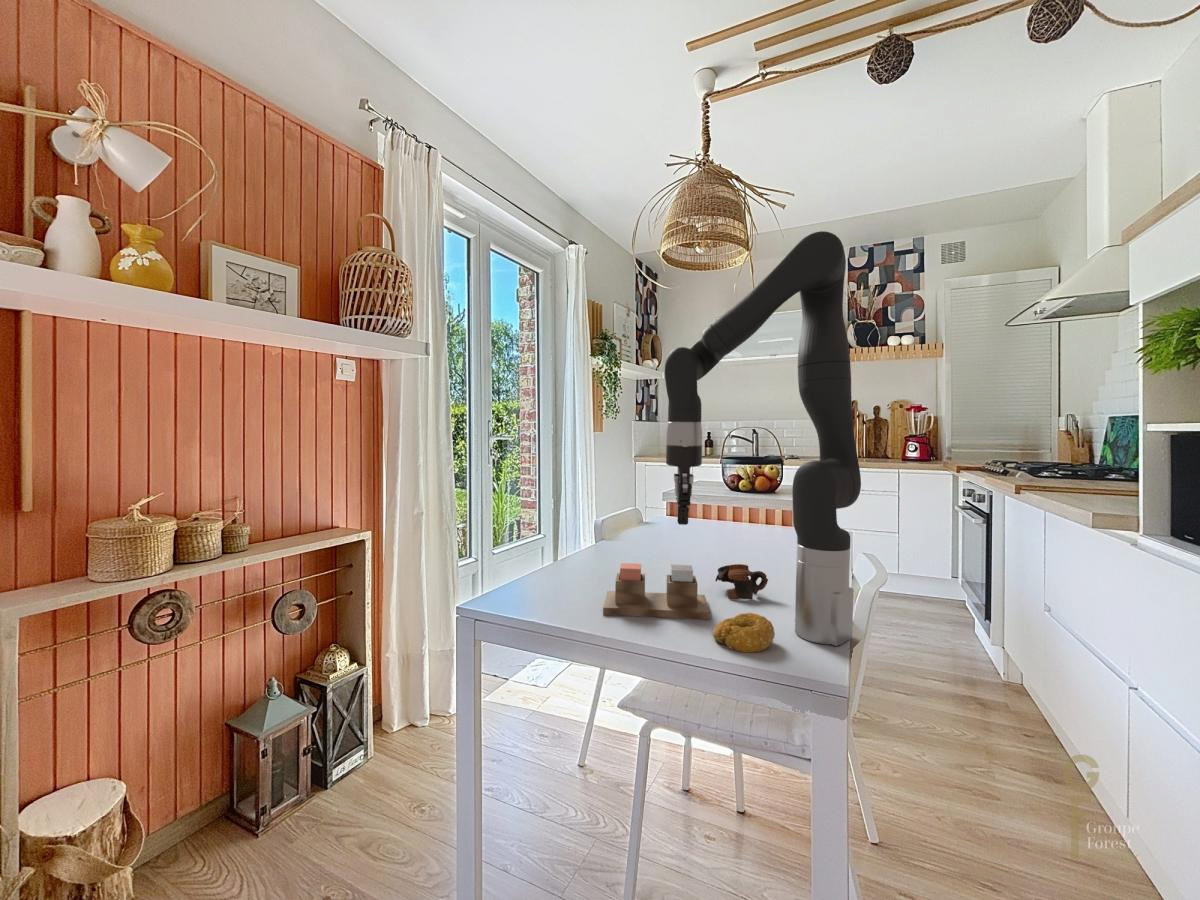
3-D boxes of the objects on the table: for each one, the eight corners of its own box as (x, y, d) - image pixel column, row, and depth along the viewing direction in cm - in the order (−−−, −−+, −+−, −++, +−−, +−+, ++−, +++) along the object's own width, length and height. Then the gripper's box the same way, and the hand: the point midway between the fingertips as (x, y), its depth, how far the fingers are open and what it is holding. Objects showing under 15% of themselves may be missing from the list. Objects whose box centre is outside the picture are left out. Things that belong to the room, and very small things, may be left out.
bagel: (716, 628, 103) (717, 605, 102) (775, 637, 99) (776, 612, 98) (708, 649, 93) (708, 622, 93) (773, 659, 89) (773, 632, 89)
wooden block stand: (704, 601, 118) (704, 572, 118) (709, 619, 107) (710, 587, 107) (607, 597, 120) (607, 569, 120) (603, 614, 109) (603, 583, 109)
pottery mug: (715, 601, 119) (710, 566, 123) (724, 608, 127) (719, 574, 131) (769, 594, 115) (761, 557, 119) (775, 601, 123) (767, 567, 127)
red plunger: (640, 585, 116) (641, 563, 116) (640, 592, 111) (640, 569, 111) (621, 585, 116) (621, 562, 116) (619, 591, 112) (620, 568, 112)
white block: (691, 587, 115) (691, 565, 115) (692, 594, 110) (693, 570, 110) (670, 587, 115) (671, 564, 115) (671, 593, 111) (672, 570, 111)
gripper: (665, 442, 118) (664, 518, 119) (667, 444, 105) (666, 529, 106) (699, 442, 118) (697, 518, 118) (705, 444, 104) (703, 530, 105)
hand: (682, 523), depth 112 cm, fingers closed
